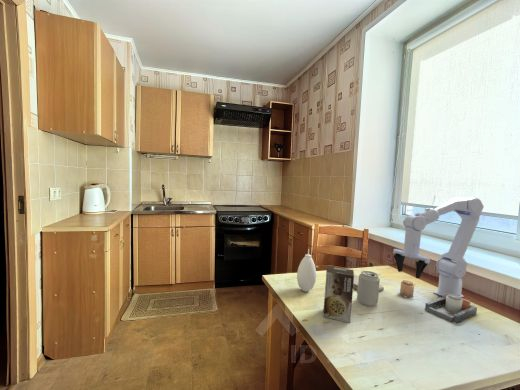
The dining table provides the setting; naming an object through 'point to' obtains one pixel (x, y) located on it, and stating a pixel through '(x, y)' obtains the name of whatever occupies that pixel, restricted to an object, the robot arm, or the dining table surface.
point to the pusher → (464, 303)
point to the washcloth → (356, 280)
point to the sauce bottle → (306, 273)
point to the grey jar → (453, 303)
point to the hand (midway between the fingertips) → (408, 274)
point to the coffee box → (338, 293)
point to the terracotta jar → (407, 288)
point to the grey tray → (455, 318)
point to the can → (368, 288)
